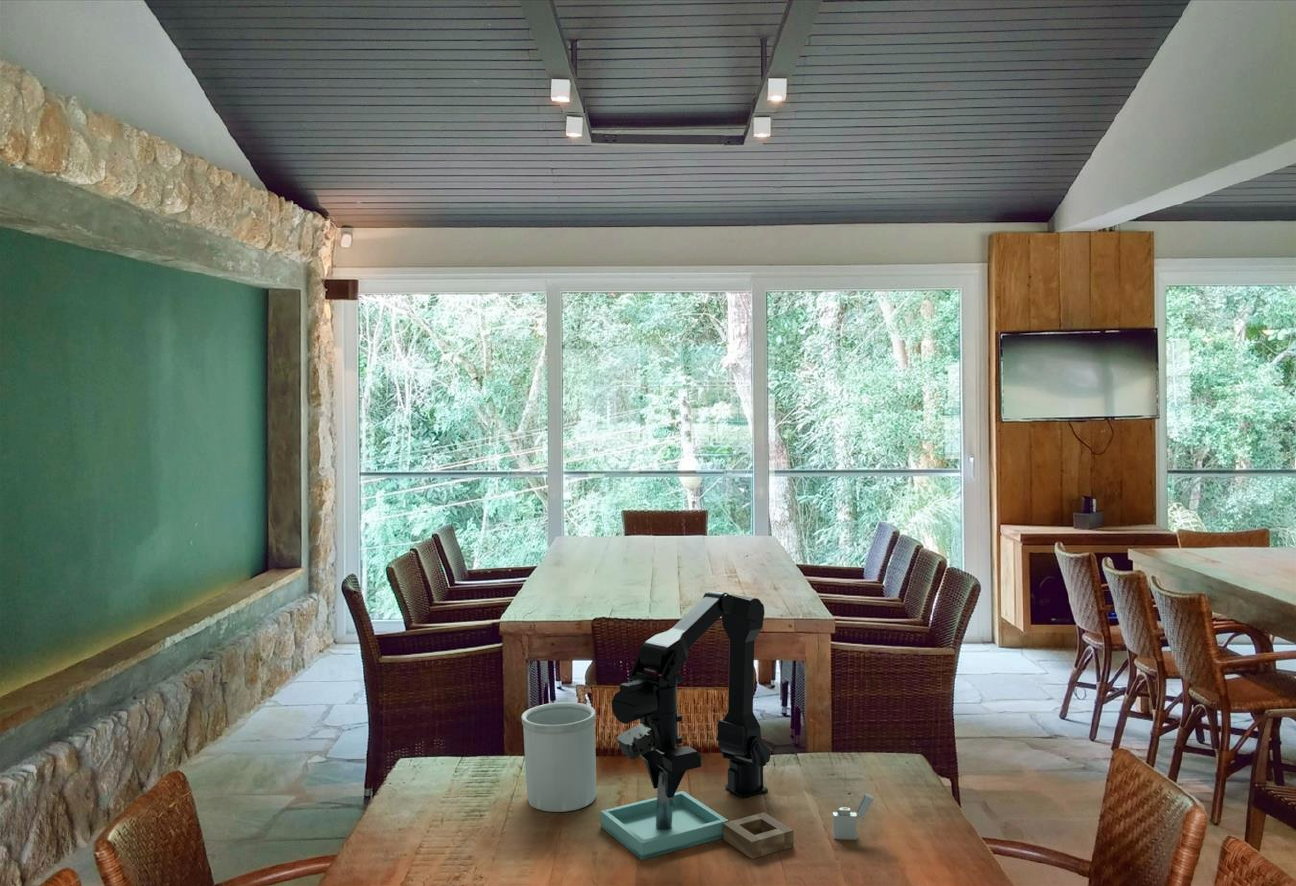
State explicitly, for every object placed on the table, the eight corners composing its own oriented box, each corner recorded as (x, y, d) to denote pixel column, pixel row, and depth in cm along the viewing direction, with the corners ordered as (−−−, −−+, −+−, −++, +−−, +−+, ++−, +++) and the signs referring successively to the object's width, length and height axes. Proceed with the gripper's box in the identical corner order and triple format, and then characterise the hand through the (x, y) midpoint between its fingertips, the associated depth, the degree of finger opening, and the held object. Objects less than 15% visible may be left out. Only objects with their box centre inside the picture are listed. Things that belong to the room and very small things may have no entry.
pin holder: (763, 828, 189) (763, 812, 189) (793, 846, 181) (793, 830, 181) (723, 839, 185) (723, 823, 185) (751, 858, 177) (751, 842, 177)
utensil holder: (510, 808, 201) (507, 720, 200) (545, 780, 214) (543, 698, 213) (577, 818, 195) (575, 728, 194) (609, 789, 209) (607, 705, 208)
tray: (683, 805, 200) (682, 790, 200) (728, 836, 186) (728, 820, 186) (600, 826, 191) (600, 810, 191) (642, 860, 177) (641, 843, 177)
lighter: (833, 839, 184) (833, 795, 184) (832, 834, 186) (832, 791, 185) (873, 839, 184) (873, 796, 183) (872, 835, 185) (872, 792, 185)
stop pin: (666, 822, 191) (669, 768, 191) (674, 827, 188) (677, 772, 189) (652, 824, 189) (655, 769, 190) (660, 829, 187) (663, 773, 187)
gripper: (599, 703, 192) (601, 785, 192) (648, 731, 175) (649, 820, 176) (651, 693, 197) (653, 773, 198) (703, 720, 181) (704, 806, 182)
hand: (663, 792), depth 188 cm, fingers open, 5 cm apart
